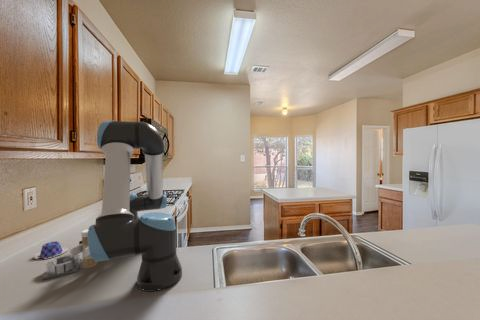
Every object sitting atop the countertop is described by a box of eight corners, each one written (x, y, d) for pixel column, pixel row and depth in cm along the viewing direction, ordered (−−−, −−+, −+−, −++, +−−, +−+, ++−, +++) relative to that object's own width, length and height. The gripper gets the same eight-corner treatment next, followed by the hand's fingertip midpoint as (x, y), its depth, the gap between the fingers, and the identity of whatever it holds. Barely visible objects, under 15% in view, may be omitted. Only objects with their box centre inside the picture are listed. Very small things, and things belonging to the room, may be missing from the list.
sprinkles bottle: (87, 262, 82) (86, 228, 82) (99, 261, 83) (98, 227, 83) (79, 268, 78) (78, 232, 78) (92, 267, 78) (91, 231, 78)
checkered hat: (28, 257, 97) (27, 246, 96) (59, 247, 107) (59, 237, 107) (41, 263, 91) (40, 251, 91) (72, 251, 102) (72, 240, 102)
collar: (76, 272, 82) (76, 261, 82) (43, 279, 78) (42, 269, 78) (81, 261, 91) (81, 251, 91) (51, 267, 86) (51, 257, 86)
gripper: (136, 238, 98) (102, 263, 75) (100, 239, 99) (54, 264, 75) (136, 222, 98) (101, 242, 75) (99, 223, 99) (54, 243, 75)
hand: (78, 253), depth 75 cm, fingers closed on sprinkles bottle, 4 cm apart
